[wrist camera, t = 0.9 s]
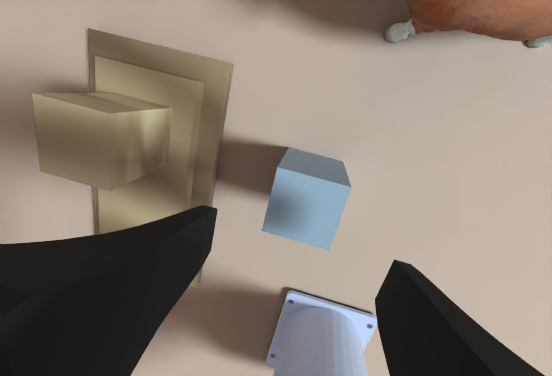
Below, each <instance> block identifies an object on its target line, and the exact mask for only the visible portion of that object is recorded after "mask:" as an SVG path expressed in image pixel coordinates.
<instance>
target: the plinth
mask: <svg viewBox="0 0 552 376" xmlns="http://www.w3.org/2000/svg"><path fill="white" fill-rule="evenodd" d="M88 42H89V72H90V93H118V94H121V95H125V96H129V97H133V98H137V99H141V100H144V101H148V102H152V103H156V104H160V105H163V106H167V107H171V108H172V113H171V125H170V138H169V151H168V164H167V165H165V166H163V167H161V168H159V169H157V170H155V171H152V172H150V173H148V174H146V175H144V176H142V177H139V178H137V179H135V180H133V181H131V182H129V183H126V184H124V185H122V186H120V187H118V188H116V189H113V190H111V191H107V190H104V189H100V188H97V187H94V186H93V194H94V225H95V235H98V234H104V233H109V232H113V231H118V230H123V229H127V228H131V227H135V226H139V225H142V224H145V223H149V222H152V221H156V220H159V219H162V218H165V217H168V216H171V215H174V214H177V213H180V212H183V211H185V210H188V209H191V208H194V207H197V206H201V205H206V206H209V207H212V200H213V194H214V187H215V181H216V174H217V168H218V161H219V155H220V148H221V142H222V135H223V129H224V122H225V116H226V109H227V103H228V96H229V90H230V83H231V77H232V70H233V64H231V63H227V62H223V61H219V60H215V59H211V58H207V57H203V56H199V55H195V54H191V53H186V52H182V51H178V50H174V49H170V48H166V47H162V46H158V45H154V44H150V43H146V42H142V41H138V40H134V39H130V38H125V37H121V36H117V35H113V34H109V33H105V32H101V31H97V30H93V29H89V28H88ZM201 272H202V267H201V269H200V271H199V272H198V274H197V275H196V276H195V278H194V279H193V281H192V282H191V283H190V285H189V286H190V287H193V288H197V286H198V285H199V283H200V279H201Z"/></svg>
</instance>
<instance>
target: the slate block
mask: <svg viewBox="0 0 552 376" xmlns="http://www.w3.org/2000/svg"><path fill="white" fill-rule="evenodd" d="M350 189H351V185H350V182H349V179H348V176H347V173H346V169H345V166H344V163H343V162H342V161H338V160H334V159H331V158H327V157H323V156H319V155H316V154H312V153H308V152H304V151H300V150H297V149H293V148H288V150H287V151H286V153H285V155H284V157H283V158H282V160H281V162H280V163H279V165H278V167H277V170H276V174H275V178H274V183H273V187H272V191H271V195H270V199H269V203H268V207H267V212H266V216H265V220H264V224H263V228H262V231H264V232H268V233H271V234H274V235H278V236H281V237H285V238H288V239H292V240H295V241H299V242H302V243H306V244H309V245H312V246H316V247H319V248H323V249H326V250H329V247H330V244H331V242H332V239H333V236H334V233H335V231H336V228H337V225H338V222H339V220H340V217H341V214H342V211H343V209H344V206H345V203H346V200H347V198H348V195H349V192H350Z"/></svg>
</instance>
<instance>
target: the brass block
mask: <svg viewBox="0 0 552 376" xmlns="http://www.w3.org/2000/svg"><path fill="white" fill-rule="evenodd" d="M32 100H33V109H34V118H35V127H36V136H37V145H38V154H39V163H40V171H42V172H45V173H49V174H52V175H56V176H59V177H63V178H66V179H69V180H73V181H76V182H80V183H83V184H87V185H90V186H94V187H97V188H100V189H104V190H107V191H111V190H113V189H116V188H118V187H120V186H122V185H124V184H126V183H129V182H131V181H133V180H135V179H137V178H139V177H142V176H144V175H146V174H148V173H150V172H152V171H155V170H157V169H159V168H161V167H163V166H165V165H167V164H168V151H169V138H170V125H171V113H172V108H171V107H167V106H163V105H160V104H156V103H152V102H148V101H144V100H141V99H137V98H133V97H129V96H125V95H121V94H118V93H32Z"/></svg>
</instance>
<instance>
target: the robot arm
mask: <svg viewBox="0 0 552 376" xmlns="http://www.w3.org/2000/svg"><path fill="white" fill-rule="evenodd" d="M216 215H217V209H216V208H213V207H209V206H206V205H201V206H197V207H194V208H191V209H188V210H185V211H183V212H180V213H177V214H174V215H171V216H168V217H165V218H162V219H159V220H156V221H152V222H149V223H145V224H142V225H139V226H135V227H131V228H127V229H123V230H118V231H113V232H109V233H104V234H98V235H91V236H84V237H77V238H71V239H63V240H54V241H44V242H31V243H16V244H0V376H130V375H131V373H132V372H133V370H134V368H135V367H136V365H137V363H138V361H139V360H140V358H141V356H142V354H143V353H144V351H145V349H146V348H147V346H148V344H149V343H150V341H151V339H152V338H153V336H154V334H155V333H156V331H157V329H158V328H159V326H160V325H161V323H162V322H163V320H164V319H165V317H166V316H167V315H168V313H169V312H170V310H171V309H172V308H173V306H174V305H175V304H176V302H177V301H178V300H179V298H180V297H181V296H182V294H183V293H184V292H185V290H186V289H187V287H188V286H189V285H190V283H191V282H192V281H193V279H194V278H195V276H196V275H197V274H198V272H199V271H200V269H201V267H202V266H203V264H204V262H205V260H206V258H207V257H208V255H209V253H210V251H211V246H212V240H213V234H214V228H215V221H216ZM289 300H293V301H289ZM375 305H376V316H377V317H376V316H375V315H373V314H369V313H366V312H363V311H359V310H356V309H353V308H349V307H346V306H343V305H340V304H336V303H333V302H330V301H326V300H323V299H320V298H317V297H313V296H310V295H307V294H303V293H300V292H297V291H293V290H291V291H288V292H287V295H286V298H285V301H284V304H283V307H282V311H281V314H280V317H279V320H278V323H277V326H276V330H275V333H274V336H273V339H272V342H271V345H270V349H269V352H268V355H267V358H266V363H267V364H268V365H269V366H272V367H274V373H273V376H367V371H366V365H365V359H364V352H363V351H364V349H365V347H366V345H367V343H368V341H369V339H370V337H371V335H372V333H373V331H374V329H375V328H376V326H377V324H378V329H379V333H380V337H381V342H382V346H383V350H384V354H385V358H386V362H387V366H388V370H389V374H390V376H544V375H543V374H542V373H540V372H539V371H538V370H536V369H535V368H533V367H532V366H531V365H529V364H528V363H527V362H525V361H524V360H523V359H521V358H520V357H519V356H517V355H516V354H515V353H513V352H512V351H511V350H510V349H508V348H507V347H506V346H504V345H503V344H502V343H500V342H499V341H498V340H497V339H495V338H494V337H493V336H492V335H491V334H489V333H488V332H487V331H486V330H485V329H483V328H482V327H481V326H480V325H479V324H478V323H476V322H475V321H474V320H473V319H472V318H470V317H469V316H468V315H467V314H466V313H465V312H464V311H463V310H461V309H460V308H459V307H458V306H457V305H456V304H455V303H454V302H453V301H451V300H450V299H449V298H448V297H447V296H446V295H445V294H444V293H443V292H442V291H441V290H439V289H438V288H437V287H436V286H435V285H434V284H433V283H432V282H431V281H430V280H429V279H428V278H426V277H425V276H424V275H423V274H422V273H421V272H420V271H418V270H417V269H416V268H415V267H413V266H412V265H411V264H408V263H405V262H401V261H398V260H394V261H393V263H392V265H391V268H390V270H389V272H388V274H387V276H386V278H385V280H384V282H383V284H382V286H381V288H380V290H379V292H378V294H377V296H376V298H375ZM368 324H371V325H368Z"/></svg>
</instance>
